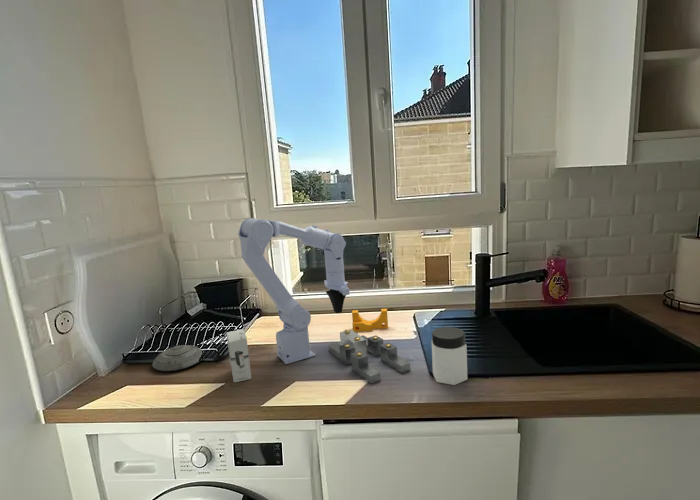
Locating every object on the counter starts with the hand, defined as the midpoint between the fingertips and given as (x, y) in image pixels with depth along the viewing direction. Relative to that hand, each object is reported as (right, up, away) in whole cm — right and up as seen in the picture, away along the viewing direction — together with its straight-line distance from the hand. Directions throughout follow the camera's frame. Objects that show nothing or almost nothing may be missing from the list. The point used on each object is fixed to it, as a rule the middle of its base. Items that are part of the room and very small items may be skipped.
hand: (338, 312), depth 133 cm
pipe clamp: (+11, -8, +11) cm, 17 cm away
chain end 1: (+5, -11, -8) cm, 15 cm away
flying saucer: (-49, -15, -5) cm, 51 cm away
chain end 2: (+12, -13, -20) cm, 27 cm away
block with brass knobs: (+5, -11, -6) cm, 14 cm away
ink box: (-27, -15, -17) cm, 35 cm away
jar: (+29, -13, -27) cm, 42 cm away
